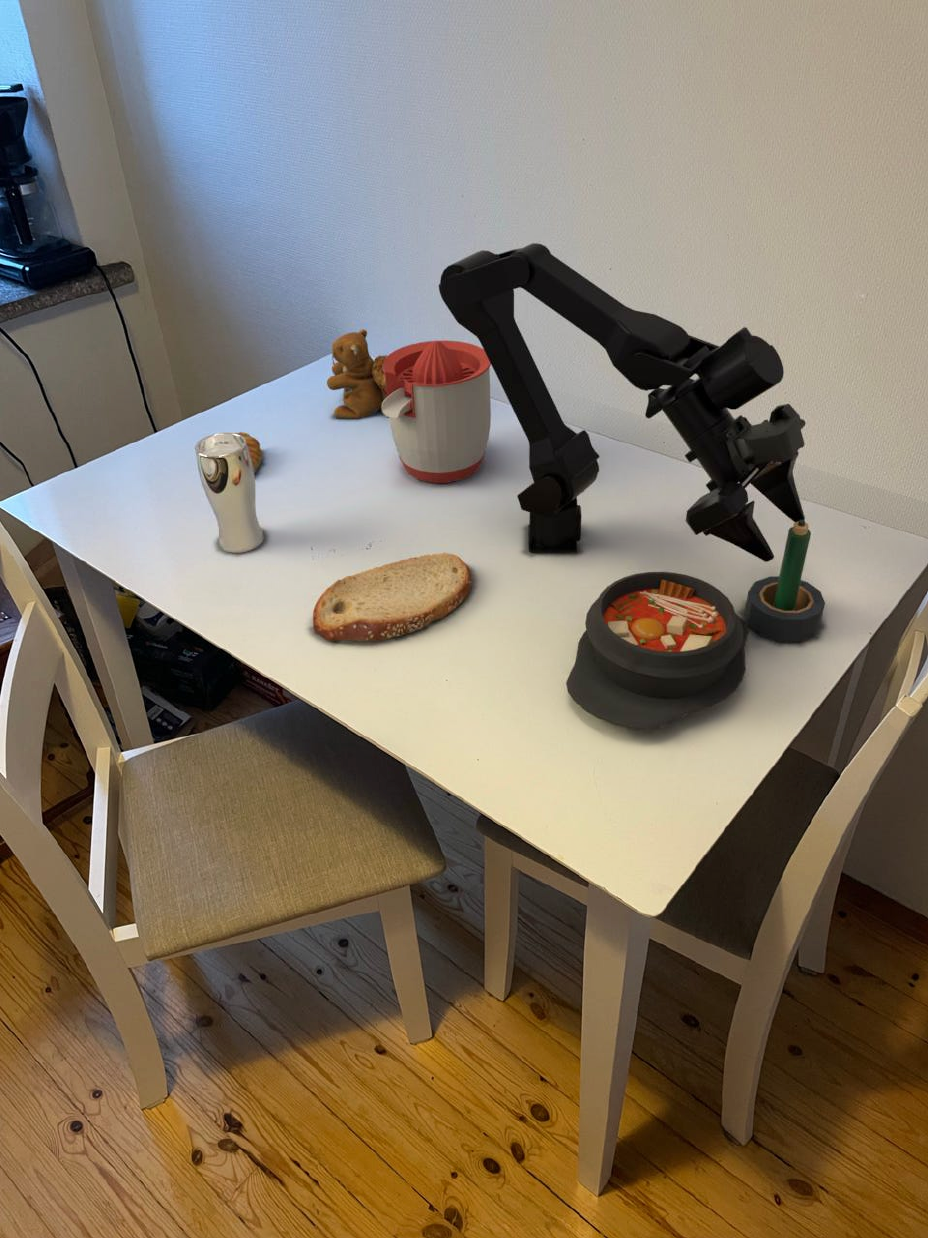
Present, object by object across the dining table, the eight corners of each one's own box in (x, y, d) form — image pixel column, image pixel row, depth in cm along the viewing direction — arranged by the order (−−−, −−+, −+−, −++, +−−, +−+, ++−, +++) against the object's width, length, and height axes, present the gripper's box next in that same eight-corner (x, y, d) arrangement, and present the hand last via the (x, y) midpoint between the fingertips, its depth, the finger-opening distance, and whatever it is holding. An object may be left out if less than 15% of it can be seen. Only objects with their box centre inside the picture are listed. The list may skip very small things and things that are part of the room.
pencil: (768, 623, 114) (788, 524, 105) (772, 611, 115) (792, 513, 107) (790, 628, 113) (811, 528, 104) (793, 616, 115) (815, 517, 106)
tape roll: (752, 642, 111) (756, 619, 109) (739, 599, 118) (743, 576, 116) (825, 643, 111) (831, 619, 108) (809, 599, 117) (814, 576, 115)
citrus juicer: (363, 470, 147) (348, 345, 134) (447, 432, 156) (440, 311, 143) (429, 508, 137) (419, 377, 125) (515, 464, 146) (514, 338, 134)
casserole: (645, 587, 120) (651, 531, 115) (784, 644, 111) (797, 585, 105) (526, 694, 106) (526, 636, 101) (674, 771, 96) (682, 710, 91)
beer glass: (276, 533, 134) (258, 436, 125) (248, 559, 129) (226, 461, 120) (236, 523, 136) (214, 428, 127) (206, 548, 131) (182, 451, 122)
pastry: (268, 475, 147) (264, 453, 144) (225, 484, 145) (219, 462, 143) (260, 448, 154) (255, 426, 151) (218, 456, 152) (213, 434, 150)
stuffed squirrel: (344, 392, 169) (335, 319, 161) (420, 398, 166) (415, 324, 158) (323, 417, 162) (313, 342, 154) (402, 424, 158) (396, 348, 150)
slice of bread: (478, 567, 125) (477, 543, 123) (449, 655, 112) (447, 630, 109) (347, 556, 129) (344, 532, 126) (303, 640, 115) (299, 615, 113)
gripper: (727, 427, 94) (816, 553, 96) (797, 360, 106) (875, 474, 107) (649, 475, 103) (731, 590, 105) (721, 409, 115) (794, 513, 116)
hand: (786, 540), depth 108 cm, fingers open, 9 cm apart
